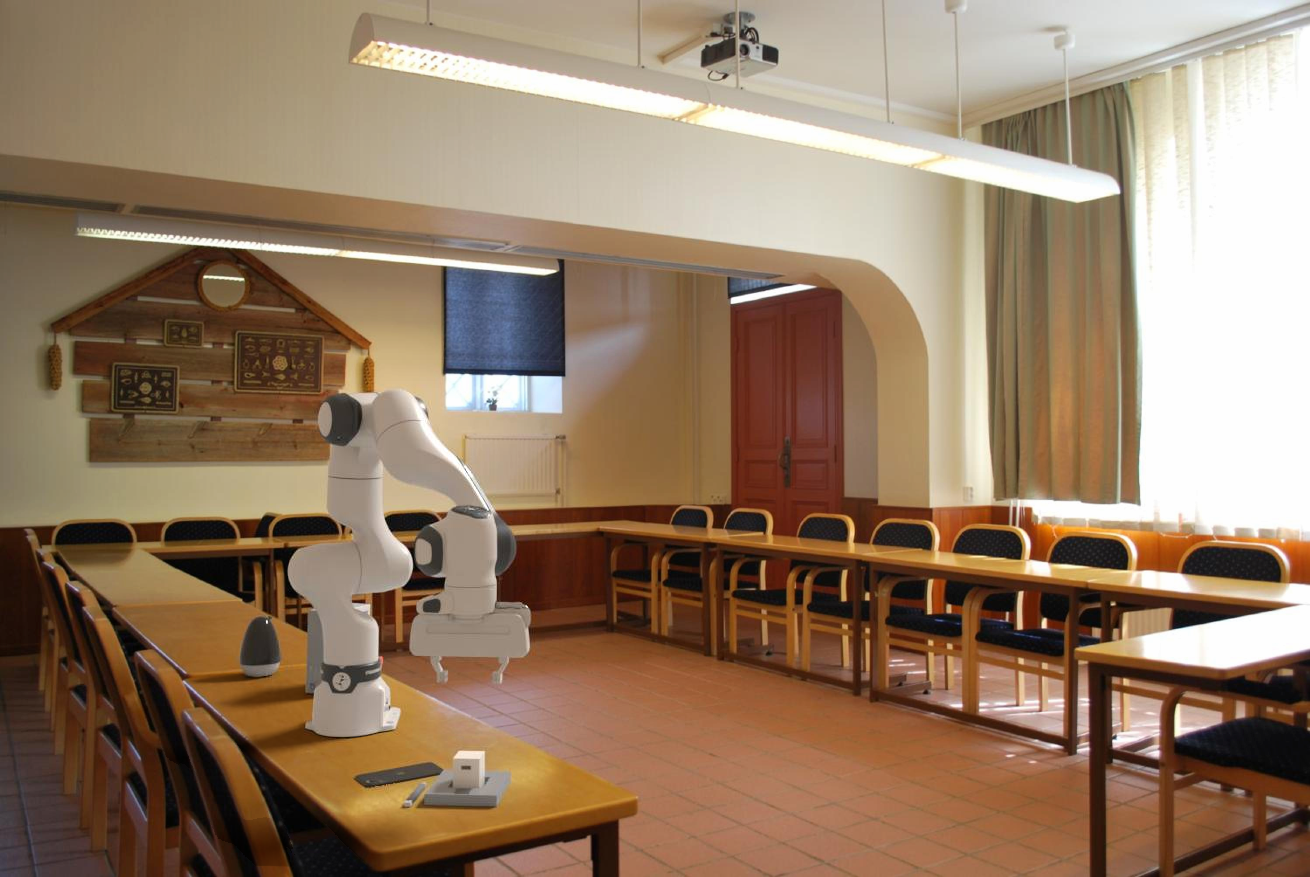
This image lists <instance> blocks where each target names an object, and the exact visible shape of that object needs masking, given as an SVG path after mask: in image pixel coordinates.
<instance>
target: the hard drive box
mask: <svg viewBox="0 0 1310 877" xmlns="http://www.w3.org/2000/svg"><path fill="white" fill-rule="evenodd" d="M352 604H353V607H354V608H355V609H358V610H360V611H362V612H365V613H367V614H369V615H370V616H371V604H370V603H357V602H356V603H355V602H352ZM306 634H307V637H306V639H307V642H306V643H307V644H306V670H305V671H306V673H305V693H306V694H313V695H314V690H315V688H317V686H319V685H320V684H321V682H322V679H321V663H322V662H323V661H324V649H323V631H322V624H321V621H320V618H319V616H318V613H317V611H316V610H315V608H313V609H309V610H308V611H307V633H306Z"/></svg>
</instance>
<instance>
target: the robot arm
mask: <svg viewBox="0 0 1310 877" xmlns="http://www.w3.org/2000/svg"><path fill="white" fill-rule="evenodd" d="M429 417H430V416H429V411H428V408H427V406H426V404H425V403H424V400H422V399H421V398H420V397H418V396H415V395H413V393H411V392H409V391H408V390H405V389H403V388H402V389H401V388H391V389H386V390H384V391H381V392H379V391H374V392H355V393H346V392H339V393H334V394H330V395H327V396H326V397H325V398H324V400H322V401H321V403H320V406H319V408H318V414H317V425H318V431H319V434H320V436H321V437H322V439H323V440H324V441H325V442H326V443H327V444H330V445H331V447H330V453H329V458H328V466H327V467H328V469H327V470H328V471H327V487H326V488H327V492H326V510H327V513H328V515H329V517H331V518H332V520H334V521H335V522H337V523H339V524H341V525H342V526H345V527H347V528H349V529H350V530H351V532H352V541H347V542H346V541H345V542H323V543H317V544H312V545H308V546H305V547H300V548H298V549H297V550H296V551H295V552H294V553H293V555H292V556H291V558H290V560H289V563H288V566H287V576H288V581H289V583H290V586H291V587H292V589H293V590H294V591H295V592H296V593H297V594H299V595H300V596H302V597H303V598H304V599H306V601H307V602H309V603H310V605H311V606H312V607H313V609H315V610H316V611H317V613H318V616H319V618H320V621H321V624H322V631H323V649H324V661H323V662H322V663H321V679H322V682H321V684H320V685H319V686H317V688H315V690H314V694H313V701H312V702H313V704H312V716H311V717H312V718H311V720H309V721H307V722H305V729H306V730H309V731H310V730H311V731H313V732H315V733H316V734H317V735H321V736H326V737H332V738H333V737H335V738H336V737H339V738H347V737H360V736H367V735H370V734H375V733H378V732H386V731H393V730H395V729H396V728H397V725H398V723H399V719H400V717H401V713H402V712H401V708H400V707H396V706H391V688H390V687H389V686H388V684H387V683H386V682H385V680H384V679H383V678H382V674H383V673H382V666H383V664H384V658H383V656H379V625H378V622H377V620H376V619H375V618H374V617H373V616H372V615H371V614H370V615H369V614H367V613H365V612H362V611H360V610H358V609H355V608H354V607H353V604H352V603H353V600H352V599H353V598H352V597H353V596H354V595H362V594H373V593H374V594H375V593H376V594H377V593H386V592H388V591H393V590H395V589H399V588H402V587H404V586H405V585H406V584H407V583H408V582H409V580H410V579H411V576H412V573H413V569H414V563H415V565H416V567H417V568H418V569H419V570H420V572H422V573H423V574H424V575H426V576H427V577H432V578H445V581H444V590H443V591H442V592H441V591H440V592H435V593H434V594H430V595H428V596H425V597H423V598H421V599H420V600H418V601H417V603H416V607H415V608H416V612H417V613H418V614H417V615H416V616H415V617H414V618H413V620H412V623H411V627H410V628H411V629H410V633H409V635H410V636H409V651H410V652H411V654H412V655H413V656H415V657H417V656H419V657H430V664H431V665H432V667H433V669H434V670H435V672H436V681H437V682H436V683H447V682H448V679H449V676H448V675H449V670H447V669H445V670H444V669H443V667H442V665H441V663H440V661H441V660H442V657H459V658H460V657H461V658H462V657H465V658H467V657H468V658H469V657H471V658H498V664H500V667H499V668H498V670H497V671H496V670H494V671H493V672H492V673H491V678H492V679H491V683H492V684H502V683H503V672H504V670H506V667H507V665H508V664H509V662H510V658H518V659H519V658H525V656H526V655H527V654H528V653H529V652H530V650H531V649H530V632H529V626H530V625H531V621H532V614H531V613H532V611H531V608H529V607H528V606H527V605H526V604H523V602H520V601H514V602H509V601H497V599H498V598H497V597H498V596H497V591H498V590H497V589H498V587H497V586H498V585H497V584H498V582H497V578H496V577H497V576H501V575H502V574H503V573H504V572H505V571H507V569H508V568H509V567H510V565H512V563H513V562H514V559H515V558H516V555H517V541H516V540H517V539H516V538H515V535H514V533H513V531H512V530H511V528H510V526H508V525H507V523H506V522H505V521H504V520H503V519H502V517H500V516H499V514H498V512H496V510H495V508H494V507H493V505H492V504H491V502H490V499H488V497H487V495H486V494H485V492H484V490H483V489H482V487H481V485H480V484H479V483H478V481H477V480H476V478H475V476H474V475H473V473H472V472H471V470H470V469H469V467H468V466H467V464H466V463H465V462H464V461H463V460H462V459H461V458H459V457H458V456H457V455H455V454H454V453H452V452H451V451H450V450H449V449H448V448H447V447H446V446H445V445H444V444H443V442H442V441H440V439H439V438H438V436H437V435H436V433H435V431H434V428H433V426H432V424H431V422H430V420H429ZM384 468H385V470H386V471H387V472H388V474H389V475H390V476H391V477H392V478H394V479H396V480H397V481H400V482H401V483H404V484H406V485H411V486H415V487H420V488H424V489H427V490H431V491H434V492H437V493H439V494H441V495H444V496H446V497H447V498H449V499H450V500H451V501H452V502H453V504H455V506H453V507H451V508H450V509H449V510H448V511H447V514H446V516H445V517H444V518H442V519H441V520H439V521H437V522H434V523H432V524H431V523H430V524H427V525H425V526H424V527H423V528H422V529H420V531H419V532H418V533H417V535H416V537H415V539H414V544H413V557H412V554H411V551H410V550H409V549H408V547H407V546H406V545H404V543H402V542H401V541H399V539H397V537H395V536H394V534H393V533H392V532H391V530H390V529H389V528H390V527H389V526H388V524H387V522H386V520H385V516H384V515H385V514H384V505H383V504H384V503H383V486H384V484H383V482H384V478H383V476H384ZM413 559H414V561H413ZM413 562H414V563H413Z"/></svg>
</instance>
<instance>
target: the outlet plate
mask: <svg viewBox="0 0 1310 877" xmlns="http://www.w3.org/2000/svg"><path fill="white" fill-rule="evenodd" d="M511 782H512V771H510V770H485V786H484V787H483V788H453V769H444V770H443V771H442V773H441V774H440V775H438V776H437V777H436V778H435V780H434V781H433V783H432V784H431V785H430V786H429V788H428V789H427V790H426V791H425V793H424V797H423V799H424V804H423V805H424V806H445V807H446V806H450V807H452V806H453V807H454V806H455V807H456V806H457V807H497V806H498V805H499V803H500V802H501V800H502V798H503V796H504V795H505V792H506V791H507V788H508V787H509V785H510V783H511Z"/></svg>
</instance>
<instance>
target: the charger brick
mask: <svg viewBox="0 0 1310 877" xmlns="http://www.w3.org/2000/svg"><path fill="white" fill-rule="evenodd" d="M452 770H453V788H483V787H484V786H485V771H486V751H485V750H458V751H457V753H456V754H455V755H454V756H453V758H452Z"/></svg>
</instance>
